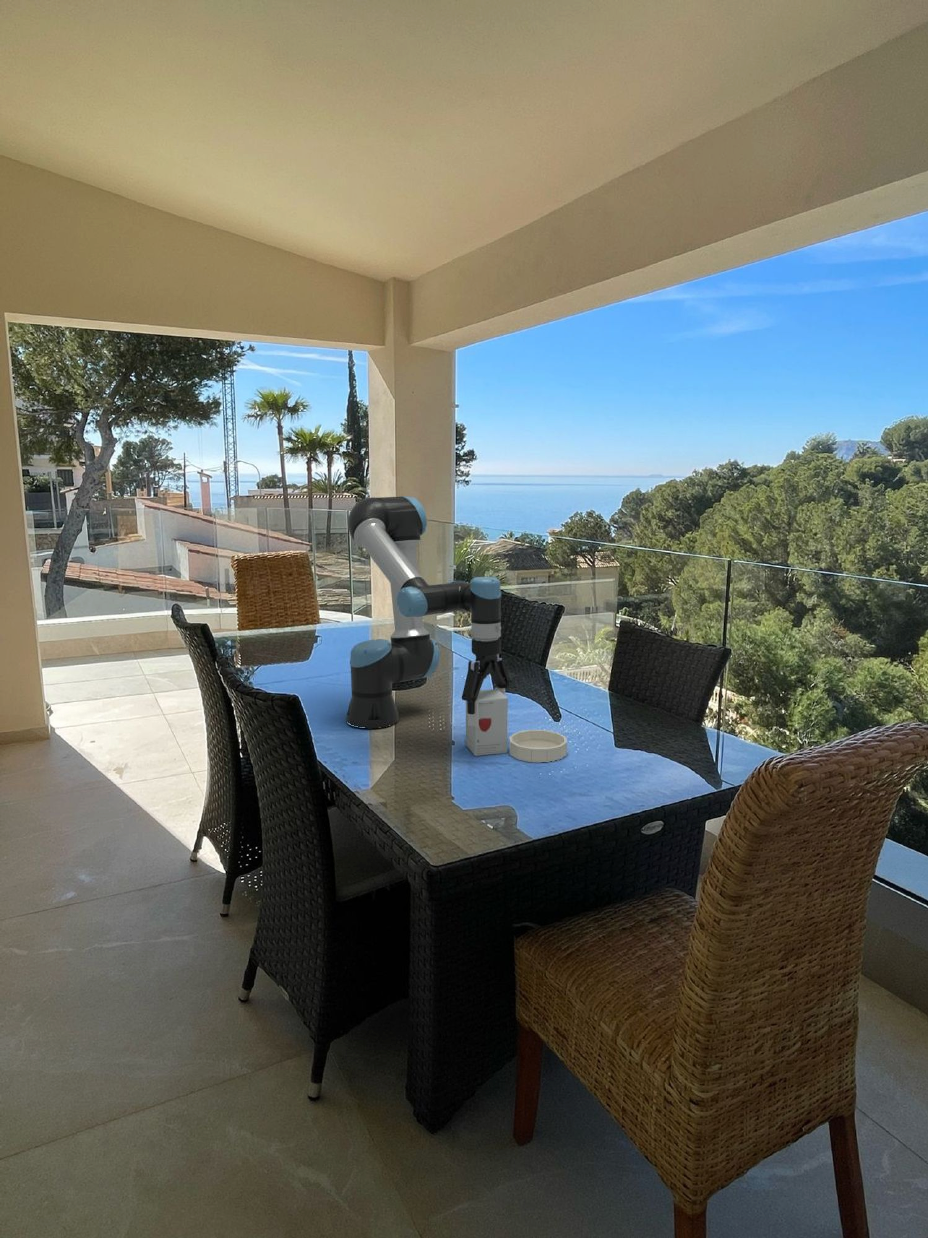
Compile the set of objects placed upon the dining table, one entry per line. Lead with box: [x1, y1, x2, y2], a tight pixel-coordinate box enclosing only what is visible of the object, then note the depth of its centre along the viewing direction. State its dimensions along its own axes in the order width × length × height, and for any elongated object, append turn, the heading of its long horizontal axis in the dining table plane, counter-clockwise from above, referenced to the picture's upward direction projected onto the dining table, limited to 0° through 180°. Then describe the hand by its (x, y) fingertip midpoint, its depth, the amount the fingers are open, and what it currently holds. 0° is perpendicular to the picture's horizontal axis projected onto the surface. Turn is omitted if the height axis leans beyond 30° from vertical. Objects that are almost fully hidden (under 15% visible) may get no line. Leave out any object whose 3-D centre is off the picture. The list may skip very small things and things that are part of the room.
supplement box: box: [465, 688, 509, 757], centre depth 200 cm, size 9×9×15 cm
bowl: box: [508, 729, 568, 763], centre depth 198 cm, size 15×15×4 cm
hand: (487, 718), depth 199 cm, fingers open, 13 cm apart
